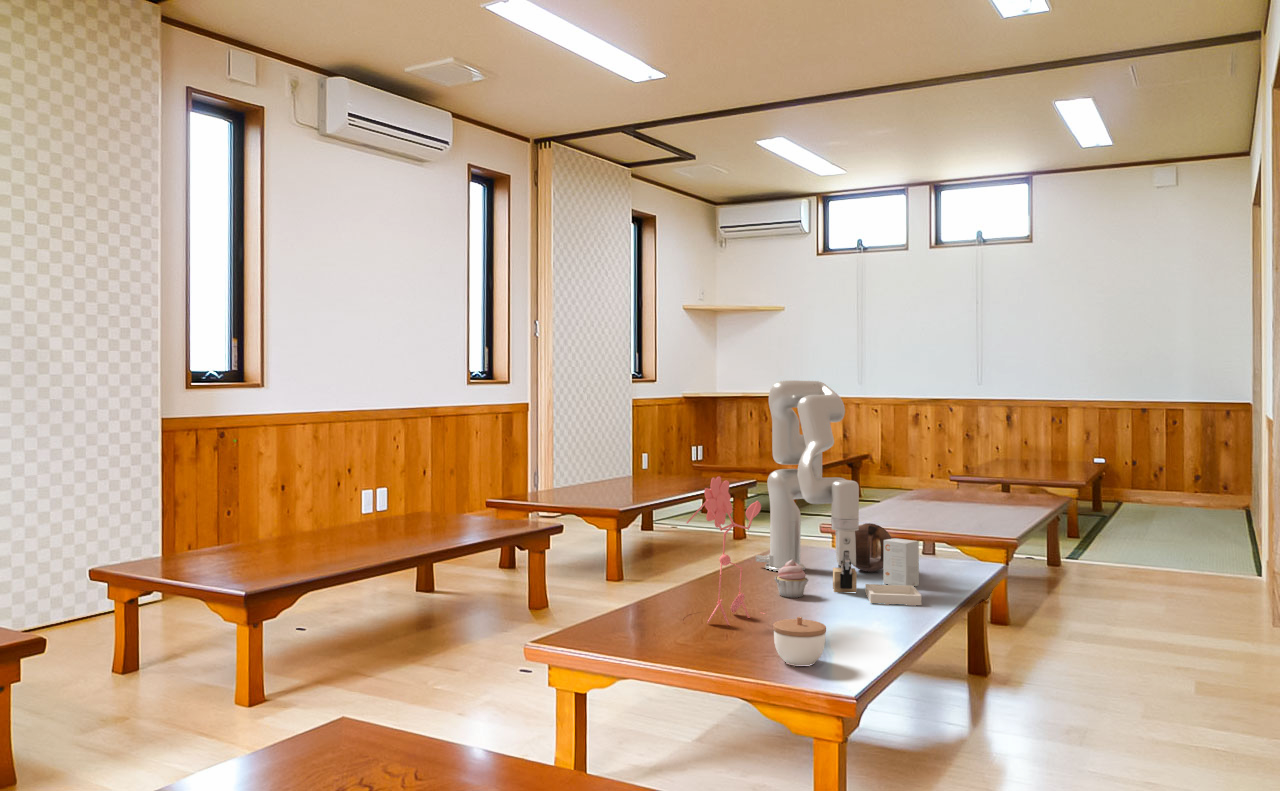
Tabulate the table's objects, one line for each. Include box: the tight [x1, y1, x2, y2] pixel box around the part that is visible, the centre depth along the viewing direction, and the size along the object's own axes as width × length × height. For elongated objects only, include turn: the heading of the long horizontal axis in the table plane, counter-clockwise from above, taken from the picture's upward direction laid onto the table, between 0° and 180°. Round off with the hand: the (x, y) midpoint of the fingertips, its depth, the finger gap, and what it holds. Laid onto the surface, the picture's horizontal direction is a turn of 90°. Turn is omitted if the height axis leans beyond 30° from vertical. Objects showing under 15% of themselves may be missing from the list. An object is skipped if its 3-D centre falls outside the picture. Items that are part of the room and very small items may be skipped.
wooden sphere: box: [854, 522, 893, 573], centre depth 289 cm, size 15×15×15 cm
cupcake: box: [774, 560, 809, 599], centre depth 253 cm, size 9×9×10 cm
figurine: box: [686, 476, 766, 626], centre depth 227 cm, size 15×26×35 cm, turn 141°
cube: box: [832, 567, 858, 593], centre depth 260 cm, size 6×6×6 cm
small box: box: [882, 538, 920, 587], centre depth 268 cm, size 8×6×13 cm
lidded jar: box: [772, 616, 827, 665], centre depth 190 cm, size 11×11×9 cm
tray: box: [864, 583, 922, 606], centre depth 249 cm, size 13×13×3 cm
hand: (844, 584), depth 260 cm, fingers open, 9 cm apart
